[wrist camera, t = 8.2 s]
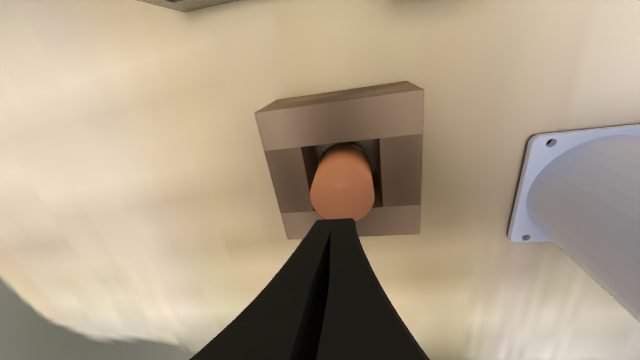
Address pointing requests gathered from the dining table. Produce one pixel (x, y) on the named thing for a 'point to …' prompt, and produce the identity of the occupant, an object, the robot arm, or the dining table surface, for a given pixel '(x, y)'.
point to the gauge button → (343, 183)
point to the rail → (185, 4)
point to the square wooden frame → (344, 126)
